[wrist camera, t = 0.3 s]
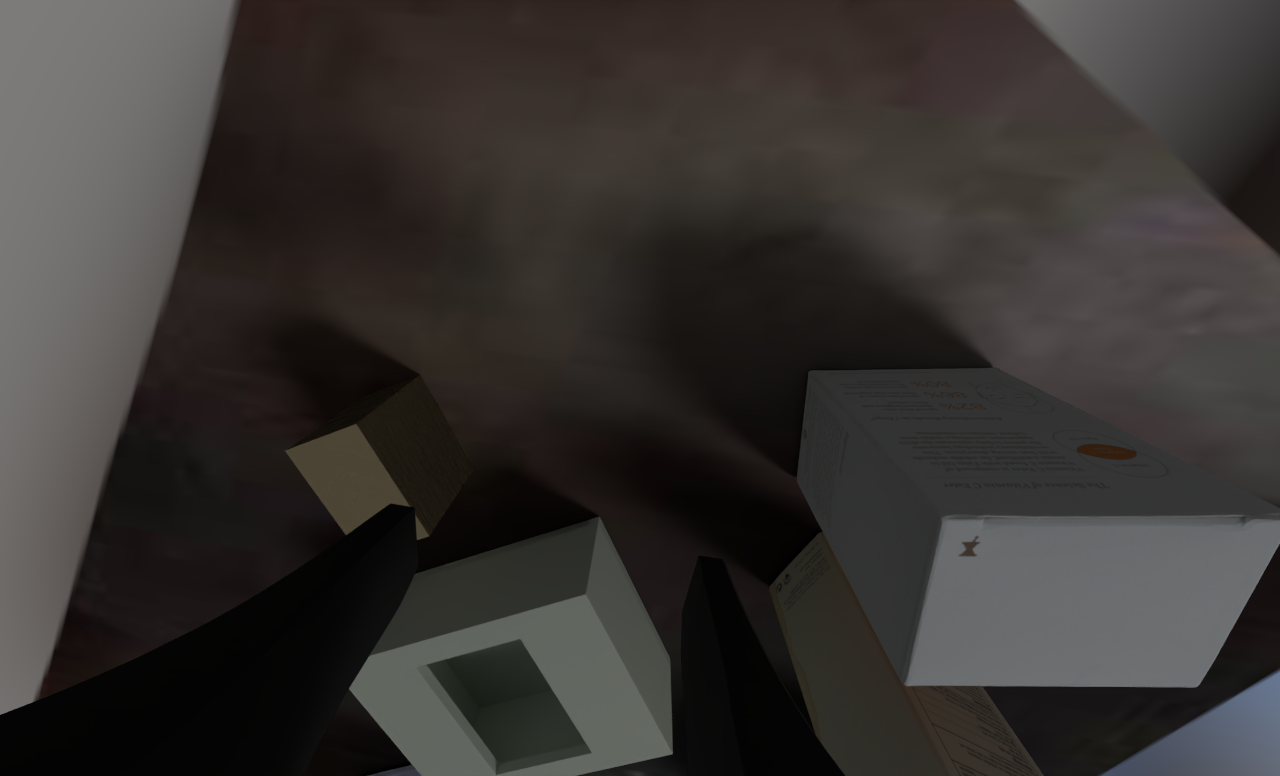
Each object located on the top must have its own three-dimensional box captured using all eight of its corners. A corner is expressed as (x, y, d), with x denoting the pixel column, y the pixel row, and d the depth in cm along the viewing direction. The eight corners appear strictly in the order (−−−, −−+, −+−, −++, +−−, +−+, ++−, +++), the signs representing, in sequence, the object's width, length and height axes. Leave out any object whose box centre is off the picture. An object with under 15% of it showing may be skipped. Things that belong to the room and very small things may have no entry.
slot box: (479, 707, 29) (445, 804, 25) (389, 582, 26) (330, 666, 21) (670, 658, 27) (672, 754, 23) (599, 516, 24) (585, 594, 19)
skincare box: (765, 584, 25) (853, 902, 14) (822, 524, 24) (971, 824, 13) (860, 636, 26) (1013, 970, 15) (919, 582, 25) (1138, 905, 14)
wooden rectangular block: (420, 486, 24) (362, 557, 19) (363, 396, 22) (284, 450, 17) (474, 467, 23) (429, 536, 19) (420, 374, 22) (356, 424, 17)
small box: (792, 479, 23) (893, 692, 13) (805, 365, 21) (936, 516, 11) (969, 479, 23) (1206, 697, 13) (999, 364, 21) (1308, 518, 11)
